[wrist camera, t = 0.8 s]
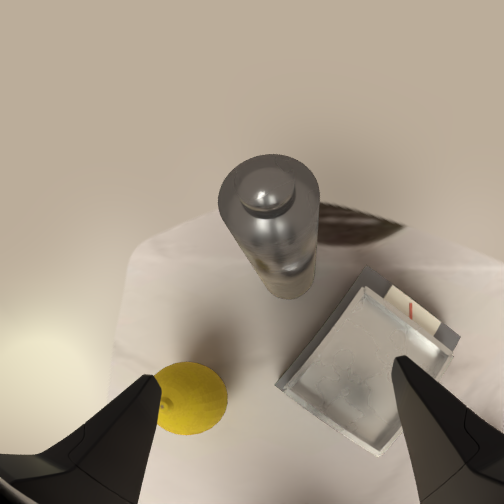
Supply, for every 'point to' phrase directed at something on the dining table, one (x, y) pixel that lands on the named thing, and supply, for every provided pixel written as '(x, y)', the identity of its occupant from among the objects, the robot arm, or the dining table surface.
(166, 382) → the lemon
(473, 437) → the robot arm
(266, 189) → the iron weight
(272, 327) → the dining table surface
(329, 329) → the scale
